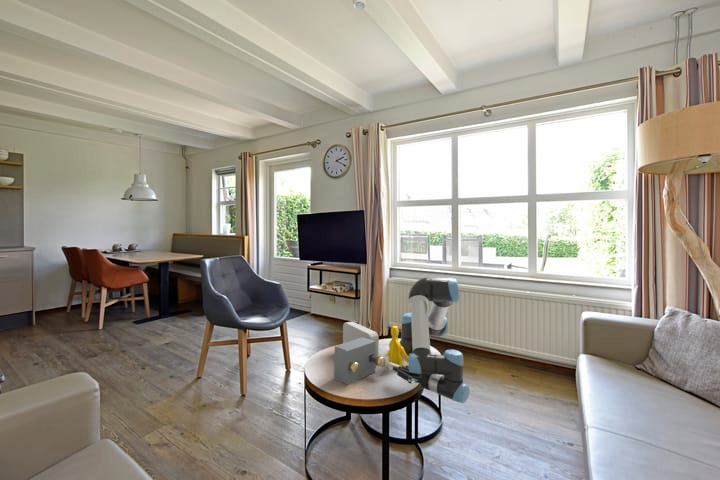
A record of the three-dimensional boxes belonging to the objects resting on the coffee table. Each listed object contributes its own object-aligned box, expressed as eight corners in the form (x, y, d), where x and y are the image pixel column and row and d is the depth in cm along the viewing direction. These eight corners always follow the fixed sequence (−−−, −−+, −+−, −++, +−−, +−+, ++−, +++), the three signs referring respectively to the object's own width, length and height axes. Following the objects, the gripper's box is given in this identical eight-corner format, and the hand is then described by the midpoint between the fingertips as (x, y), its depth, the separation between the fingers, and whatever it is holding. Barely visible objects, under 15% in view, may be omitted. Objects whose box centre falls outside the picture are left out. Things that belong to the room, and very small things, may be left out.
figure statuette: (414, 369, 171) (415, 327, 170) (405, 373, 165) (406, 330, 165) (388, 359, 183) (388, 320, 183) (379, 363, 178) (379, 323, 177)
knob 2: (371, 360, 167) (371, 351, 167) (385, 365, 160) (385, 356, 160) (365, 362, 164) (366, 354, 163) (379, 368, 157) (379, 359, 157)
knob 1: (346, 365, 159) (346, 356, 159) (359, 371, 153) (360, 362, 153) (340, 368, 156) (340, 359, 156) (353, 374, 150) (353, 364, 150)
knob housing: (362, 366, 172) (362, 337, 172) (375, 372, 166) (375, 341, 166) (334, 378, 158) (334, 346, 158) (346, 384, 152) (347, 351, 151)
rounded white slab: (381, 365, 175) (382, 332, 174) (370, 368, 170) (370, 334, 170) (353, 349, 198) (353, 320, 198) (342, 351, 194) (343, 321, 194)
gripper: (423, 395, 135) (380, 377, 151) (439, 385, 144) (397, 369, 160) (424, 377, 135) (380, 361, 151) (440, 368, 144) (397, 354, 160)
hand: (389, 365), depth 156 cm, fingers closed
